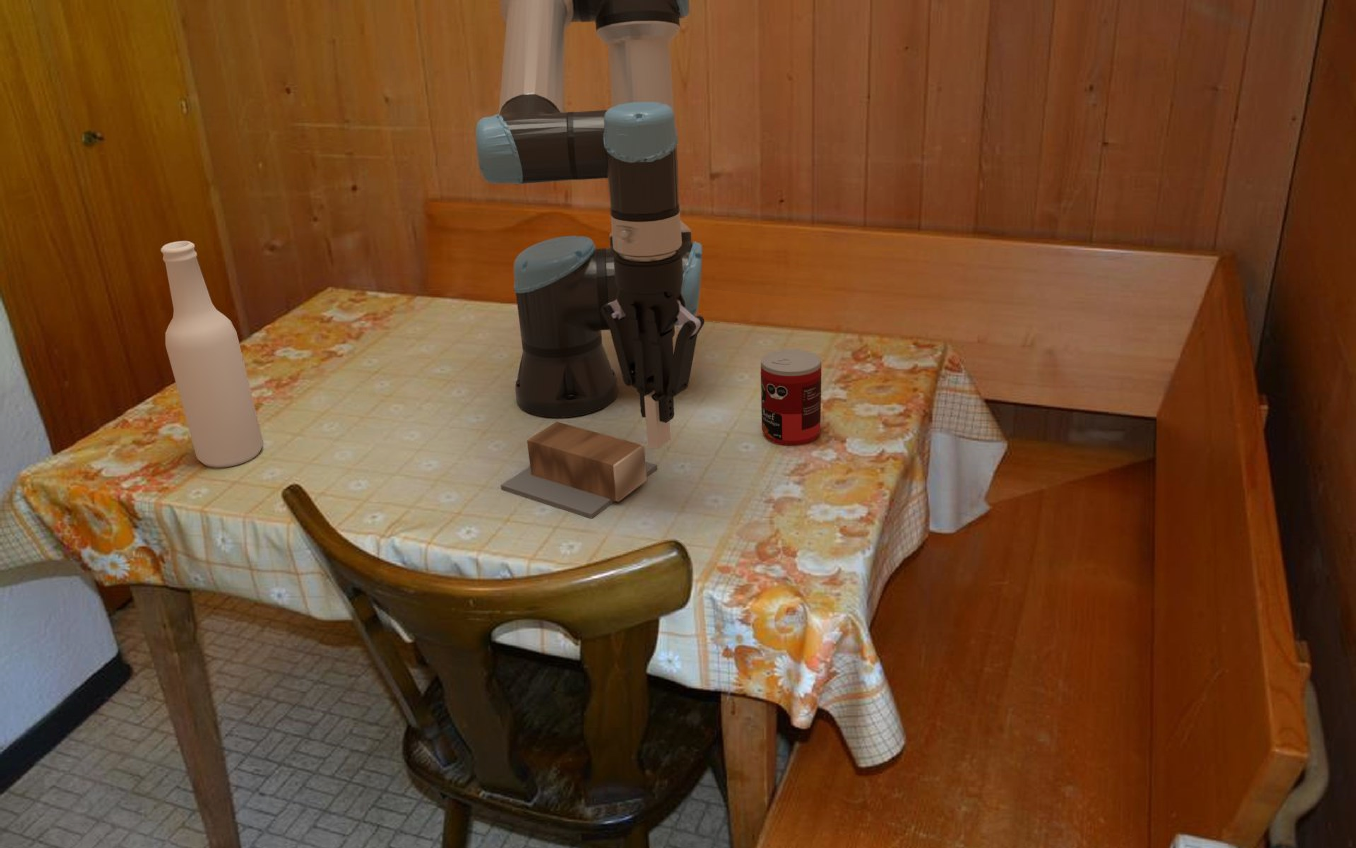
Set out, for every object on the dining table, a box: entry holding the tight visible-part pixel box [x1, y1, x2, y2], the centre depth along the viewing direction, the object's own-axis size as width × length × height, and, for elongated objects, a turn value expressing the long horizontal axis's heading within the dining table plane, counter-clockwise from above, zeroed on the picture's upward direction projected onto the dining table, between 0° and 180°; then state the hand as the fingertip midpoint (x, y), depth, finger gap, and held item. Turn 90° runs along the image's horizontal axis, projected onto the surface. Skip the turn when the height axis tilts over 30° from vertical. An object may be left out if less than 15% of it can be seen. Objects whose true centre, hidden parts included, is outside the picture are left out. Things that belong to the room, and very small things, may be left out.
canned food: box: [760, 348, 822, 447], centre depth 147 cm, size 8×8×11 cm
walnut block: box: [526, 421, 648, 502], centre depth 139 cm, size 5×6×14 cm
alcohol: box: [160, 240, 264, 469], centre depth 145 cm, size 9×9×30 cm
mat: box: [500, 461, 658, 519], centre depth 141 cm, size 14×14×1 cm
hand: (659, 442), depth 130 cm, fingers closed
